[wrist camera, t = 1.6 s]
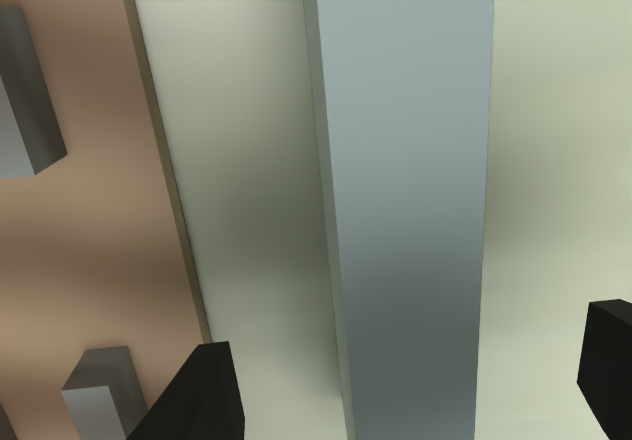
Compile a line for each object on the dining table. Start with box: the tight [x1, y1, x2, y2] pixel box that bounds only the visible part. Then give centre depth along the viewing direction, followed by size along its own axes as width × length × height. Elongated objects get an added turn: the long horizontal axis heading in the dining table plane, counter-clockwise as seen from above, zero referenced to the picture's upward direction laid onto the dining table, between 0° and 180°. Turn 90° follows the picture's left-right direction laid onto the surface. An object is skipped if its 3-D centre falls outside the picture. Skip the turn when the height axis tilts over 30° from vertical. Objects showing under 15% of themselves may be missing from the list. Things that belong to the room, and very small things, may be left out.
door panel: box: [303, 0, 494, 440], centre depth 13 cm, size 16×4×8 cm, turn 6°
